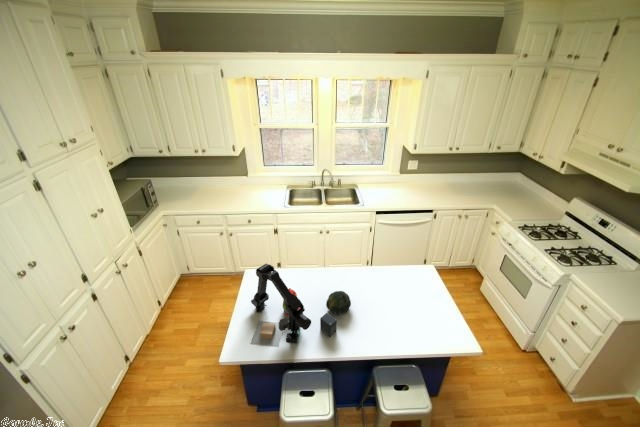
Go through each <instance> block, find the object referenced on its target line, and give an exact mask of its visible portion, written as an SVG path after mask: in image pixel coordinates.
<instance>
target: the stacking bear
mask: <svg viewBox="0 0 640 427" xmlns="http://www.w3.org/2000/svg"><path fill="white" fill-rule="evenodd" d="M288 289H289V291H290V292H291V293H292V294H294V295H296V297H297V296H298V294H297V292H296V291H295V290H294V289H291V288H290V287H289V288H288ZM297 298H298V297H297ZM282 308H283V314H284V316H286V318H289V313H288V311H287V310H286V307H285V305H284V299H282ZM299 309H300V307H299V308H298V310H299Z"/></svg>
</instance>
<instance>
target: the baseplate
mask: <svg viewBox="0 0 640 427" xmlns="http://www.w3.org/2000/svg"><path fill="white" fill-rule="evenodd" d="M263 323H270V324H275V327H276V329H275V333H274V336H273V339H267V338H260V331H261V328H262V325H263ZM254 330H255V331H254V332H253V336H252V338H251V340H250V345H256V346H257V345H258V346H266V347H267V346H268V347H275V348H279V346H280V343H281V341H282V340H281V339H282V336H283V332H284V331H280V329H279V322H278V321H277V322H274V321H265V320H264V321H263V320H258V322H257V325H256V327H255V329H254Z"/></svg>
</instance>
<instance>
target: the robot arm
mask: <svg viewBox="0 0 640 427" xmlns="http://www.w3.org/2000/svg"><path fill="white" fill-rule="evenodd" d="M255 274H256V277H257V278H258V283H257V291H256V293H255V294H254V296H253V298H252V299H251V300H250V303H251V304H252V305H253V306H254V307H255V311H256V313H262V311H264V310H265V308H266V307H267V305H268V304H265V302H266V301H268V300H269V299H270V298H269V296H270V295H269V294H268V293H267V286H268V281H270V282H272V284H273V285H274V287H275V288H276V290H277V291H278V294H280V296H281V297H282V300H284V305H285V307H286V310H287V311H288V313H289V317H285V318H284V317H283V318H280V319H279V322H278V323H279V329H280V331H283V332H284V331H285V330H286V329H287V330H289V331H290V332H291V331H292V333H289V332H288V333H286V335H285V336H286V337H285V342H286V344H287V343H288V344H298V343H299V342H298V338H299V334H298V333H297V330H299V328H300V329H301V328H302V330H304V331H306V330H307V329H309V328H310V327H311V325H312V320H311V319H310V318H309V317H307V316H306V315H305V314H304V312H305V311H306V310H305V306H304V304H303V303H302V301H301V299H299V297H296V295H294V294H292V293H291V292H290V291H289V288H288V286H287V285H286V283H285V282H284V280H283V279H282V278H281V276H280V273H279V272H278V271H277V270H275V267H274V265H271V264H270V263H269V264H268V263H264V264H263V265H261V266H259V267H258V268H256V269H255ZM299 307H300V309H299V310H298V308H299Z"/></svg>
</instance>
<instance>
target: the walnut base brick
mask: <svg viewBox="0 0 640 427" xmlns="http://www.w3.org/2000/svg"><path fill="white" fill-rule="evenodd" d="M275 329H276V327H275V324H270V323H263V325H262V328H261V331H260V338H267V339H273V336H274V333H275Z"/></svg>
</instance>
